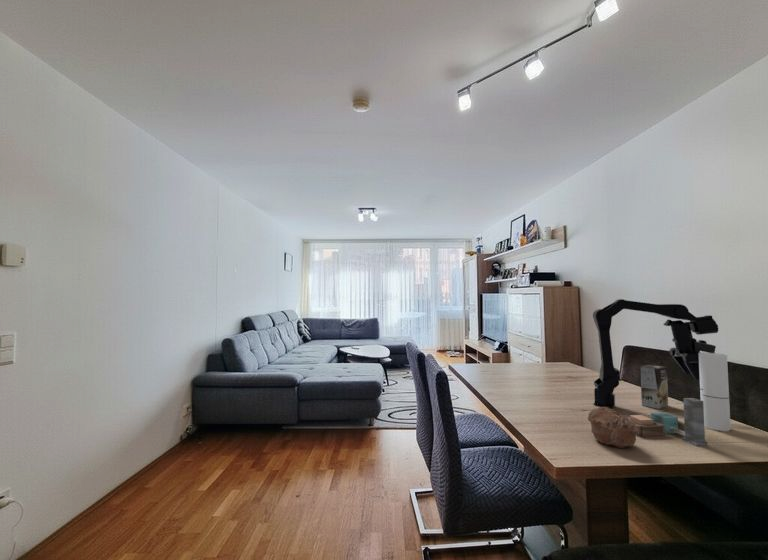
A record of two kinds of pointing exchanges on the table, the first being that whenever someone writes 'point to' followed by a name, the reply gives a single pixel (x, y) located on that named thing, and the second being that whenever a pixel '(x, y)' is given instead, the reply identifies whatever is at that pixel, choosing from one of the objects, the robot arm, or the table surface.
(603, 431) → the decorative rock
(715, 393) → the cylindrical container
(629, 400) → the table surface
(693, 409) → the grey teal angled piece
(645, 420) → the block
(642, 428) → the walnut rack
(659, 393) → the coffee box
